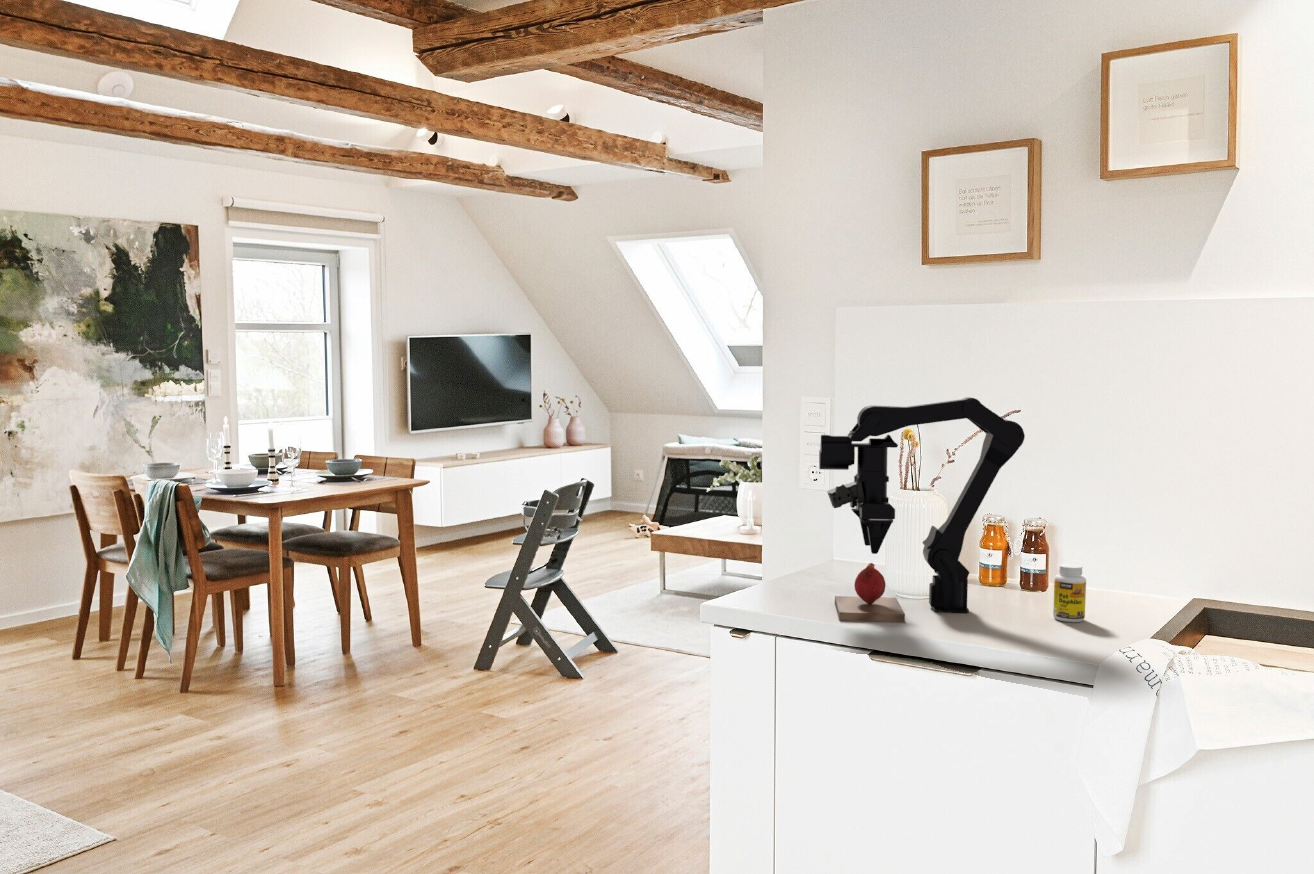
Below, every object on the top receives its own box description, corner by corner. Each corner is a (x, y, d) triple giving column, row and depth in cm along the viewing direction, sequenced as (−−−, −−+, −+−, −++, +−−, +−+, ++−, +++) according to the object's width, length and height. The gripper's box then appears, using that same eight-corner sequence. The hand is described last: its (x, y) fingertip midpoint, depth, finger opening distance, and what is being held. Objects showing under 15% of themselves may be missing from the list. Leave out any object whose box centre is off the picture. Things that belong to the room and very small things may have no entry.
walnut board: (895, 605, 214) (896, 597, 214) (904, 622, 200) (904, 614, 200) (834, 603, 215) (834, 595, 215) (839, 620, 201) (839, 612, 201)
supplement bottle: (1053, 621, 201) (1055, 567, 200) (1052, 615, 206) (1054, 562, 205) (1086, 624, 199) (1087, 569, 198) (1083, 617, 205) (1085, 563, 204)
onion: (876, 609, 204) (877, 567, 203) (849, 604, 207) (849, 563, 207) (889, 603, 208) (890, 562, 208) (862, 599, 212) (863, 559, 211)
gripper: (825, 465, 220) (824, 541, 221) (835, 474, 202) (834, 557, 203) (880, 465, 220) (879, 541, 221) (896, 475, 201) (894, 558, 202)
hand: (870, 549), depth 212 cm, fingers open, 9 cm apart
